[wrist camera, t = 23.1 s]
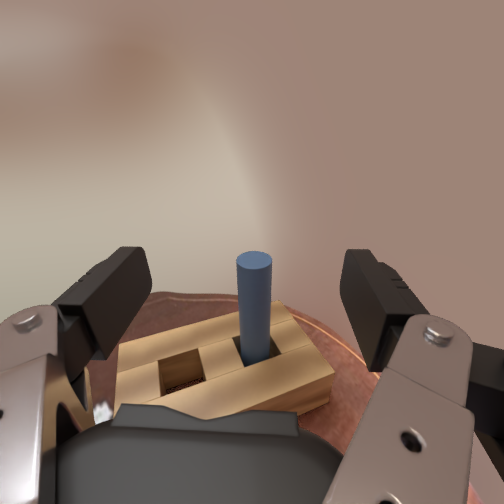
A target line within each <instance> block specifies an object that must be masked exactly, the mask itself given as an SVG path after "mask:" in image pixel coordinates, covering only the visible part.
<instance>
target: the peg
mask: <svg viewBox="0 0 504 504" xmlns="http://www.w3.org/2000/svg"><path fill="white" fill-rule="evenodd" d="M236 264H237V284H238V304H239V324H240V344H241V360H242V363H243V365H244V368H245V367H248V366H250V365H253V364H256V363H259V362H262V361H265V360H267V359H269V353H270V316H271V279H272V258H271V257H270V256H269V255H268V254H266V253H264V252H259V251H250V252H245V253H243V254H241V255H239V256H238V257H237V260H236Z"/></svg>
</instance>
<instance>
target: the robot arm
mask: <svg viewBox="0 0 504 504" xmlns="http://www.w3.org/2000/svg"><path fill="white" fill-rule="evenodd" d="M151 289H152V278H151V274H150V270H149V266H148V263H147V259H146V255H145V251H144V250H143V248H142V247H120V248H119V249H118V250H116V251H115V252H114V253H113V254H112V255H111V256H110V257H109V258H108V259H106V260H104V261H102V262H100V263H98V264H96V265H95V266H94V267H92V268H91V269H90V270H89V271H88V272H87V273H86V275H83V276H82V277H81V278H80V279H79V280H78V282H76V283H74V284H73V285H72V286H71V287H70V288H69V289H68V290H66V291H65V292H64V293H63V294H62V295H61V296H60V297H59V298H57V299H56V300H55V301H54V302H53V303H52V304H51V305H38V306H33V307H30V308H27V309H24V310H22V311H19V312H17V313H15V314H13V315H12V316H10V317H8V318H7V319H5V320H4V321H3V322H2V323H1V324H0V504H467V496H468V486H469V475H470V465H471V454H472V444H473V433H474V432H475V433H476V435H477V437H478V439H479V440H480V442H481V444H482V445H483V447H484V449H485V451H486V452H487V454H488V456H489V458H490V459H491V461H492V463H493V464H494V466H495V468H496V469H497V471H498V473H499V475H500V476H501V478H502V480H503V482H504V350H502V349H498V348H494V347H490V346H486V345H482V344H477V343H474V342H472V341H471V339H470V337H469V336H468V335H467V334H466V333H465V332H464V331H463V330H462V329H461V328H460V327H458V326H457V325H455V324H454V323H452V322H450V321H448V320H445V319H443V318H440V317H437V316H433V315H430V313H429V312H428V311H427V310H426V309H425V307H424V306H423V305H422V303H421V302H420V301H419V299H418V298H417V297H416V296H415V294H414V293H413V292H412V291H411V289H409V287H408V286H407V284H406V283H405V282H404V281H402V278H401V277H400V276H399V274H398V273H397V272H396V270H394V269H393V268H391V267H390V266H388V265H387V264H385V263H383V262H378V261H377V260H376V258H375V257H374V255H373V254H372V253H371V251H370V250H368V249H348V250H347V251H346V253H345V258H344V264H343V269H342V275H341V281H340V296H341V299H342V302H343V305H344V307H345V310H346V313H347V315H348V318H349V321H350V323H351V326H352V329H353V331H354V334H355V336H356V339H357V342H358V344H359V347H360V350H361V352H362V355H363V358H364V360H365V363H366V365H367V368H368V371H369V372H382V374H381V376H380V378H379V381H378V383H377V385H376V387H375V389H374V392H373V394H372V396H371V398H370V400H369V402H368V405H367V407H366V409H365V411H364V413H363V416H362V418H361V420H360V422H359V424H358V426H357V429H356V431H355V433H354V435H353V437H352V440H351V442H350V444H349V446H348V448H347V450H346V453H345V455H343V454H342V453H341V452H340V451H338V450H337V449H336V448H335V447H334V446H332V445H331V444H330V443H329V442H327V441H325V440H324V439H322V438H321V437H319V436H318V435H316V434H314V433H312V432H310V431H308V430H305V429H302V428H300V427H298V418H297V412H289V411H269V410H249V411H244V412H240V413H235V414H231V415H226V416H222V417H217V418H213V419H207V420H205V419H200V418H197V417H194V416H191V415H189V414H186V413H183V412H180V411H178V410H175V409H172V408H169V407H167V406H164V405H149V404H129V403H121V405H120V407H119V409H118V411H117V413H116V415H115V417H114V419H111V420H108V421H105V422H102V423H99V424H96V425H95V421H94V414H93V406H92V397H91V388H90V380H89V372H88V369H87V367H86V365H87V364H88V362H89V361H90V360H107V358H108V357H109V355H110V354H111V352H112V351H113V349H114V348H115V346H116V345H117V343H118V342H119V340H120V339H121V337H122V335H123V334H124V332H125V331H126V329H127V328H128V326H129V325H130V323H131V322H132V320H133V319H134V317H135V316H136V314H137V313H138V311H139V310H140V308H141V307H142V305H143V303H144V302H145V300H146V299H147V297H148V296H149V294H150V292H151Z"/></svg>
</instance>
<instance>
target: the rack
mask: <svg viewBox="0 0 504 504" xmlns="http://www.w3.org/2000/svg"><path fill="white" fill-rule="evenodd" d="M334 375H335V371H334V370H333V369H332V367H331V366H330V365H329V363H328V362H327V361H326V360H325V358H324V357H323V356H322V354H321V353H320V352H319V350H318V349H317V348H316V347H315V345H314V344H313V343H312V341H311V340H310V339H309V338H308V336H307V335H306V334H305V332H304V331H303V330H302V328H301V327H300V326H299V325H298V323H297V322H296V321H295V319H294V318H293V317H292V315H291V314H290V313H289V311H288V310H287V309H286V308H285V306H284V305H283V304H282V302H281V301H280V300H278V301H274V302H271V316H270V353H269V359H267V360H265V361H262V362H259V363H256V364H253V365H250V366H248V367H245V368H244V365H243V363H242V360H241V344H240V324H239V311H238V312H234V313H231V314H227V315H223V316H220V317H216V318H212V319H209V320H205V321H202V322H198V323H194V324H191V325H187V326H183V327H180V328H176V329H173V330H169V331H165V332H162V333H158V334H154V335H151V336H147V337H144V338H140V339H136V340H133V341H129V342H126V343H122V344H119V353H118V366H117V379H116V391H115V404H114V416H113V419H114V417H115V415H116V413H117V411H118V409H119V407H120V405H121V403H129V404H149V405H164V406H167V407H169V408H172V409H175V410H178V411H180V412H183V413H186V414H189V415H191V416H194V417H197V418H200V419H205V420H207V419H213V418H217V417H222V416H226V415H231V414H235V413H240V412H244V411H249V410H269V411H289V412H297V416H299V415H301V414H303V413H306V412H308V411H310V410H312V409H315V408H317V407H319V406H321V405H323V404H326V403H328V402H329V398H330V394H331V389H332V384H333V380H334ZM201 377H203V380H204V382H202V383H199V384H197V385H194V386H191V387H188V388H185V389H182V390H180V391H177V392H174V393H171V394H168V395H167V394H166V390H167V389H170V388H172V387H175V386H178V385H181V384H184V383H187V382H190V381H193V380H196V379H198V378H201Z"/></svg>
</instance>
